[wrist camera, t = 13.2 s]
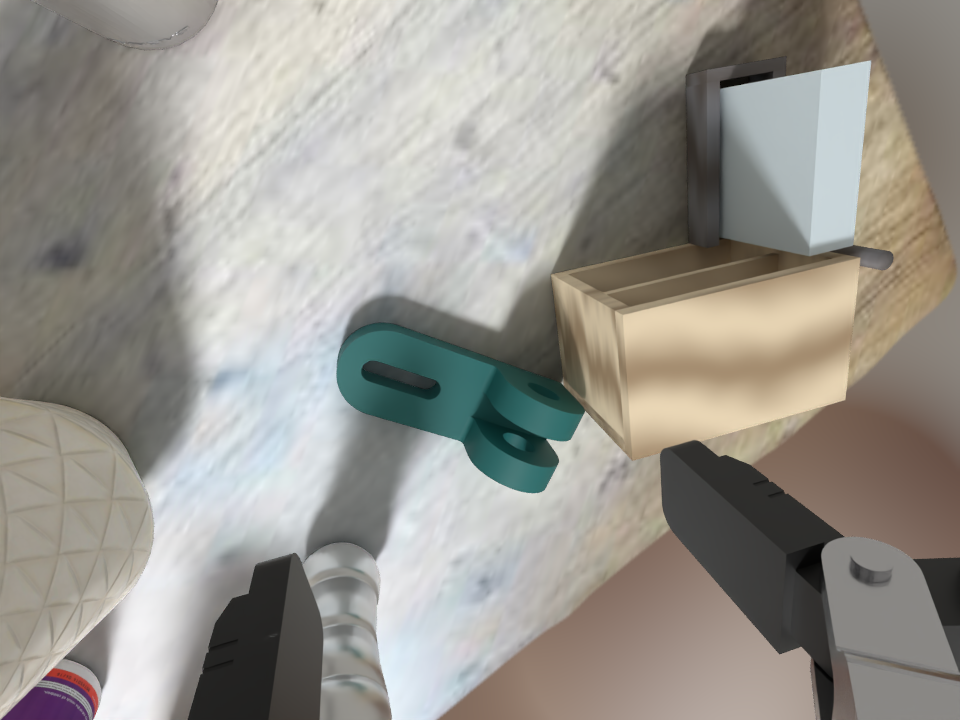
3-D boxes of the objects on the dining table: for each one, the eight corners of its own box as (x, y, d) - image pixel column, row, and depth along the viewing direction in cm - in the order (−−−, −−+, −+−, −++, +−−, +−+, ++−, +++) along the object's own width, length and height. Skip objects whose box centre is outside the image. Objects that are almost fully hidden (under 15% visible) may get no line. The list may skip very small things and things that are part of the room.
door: (702, 92, 40) (821, 69, 30) (748, 83, 40) (881, 58, 30) (703, 233, 44) (809, 256, 34) (746, 224, 44) (862, 243, 34)
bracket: (560, 382, 46) (599, 423, 38) (526, 449, 47) (558, 501, 40) (355, 309, 40) (356, 342, 32) (324, 389, 41) (319, 438, 34)
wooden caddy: (530, 102, 37) (607, 78, 26) (766, 61, 40) (924, 24, 29) (564, 388, 46) (632, 460, 35) (756, 338, 48) (876, 391, 37)
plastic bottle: (305, 528, 45) (275, 783, 26) (386, 534, 47) (410, 775, 28) (293, 591, 47) (258, 869, 28) (371, 593, 49) (385, 856, 30)
